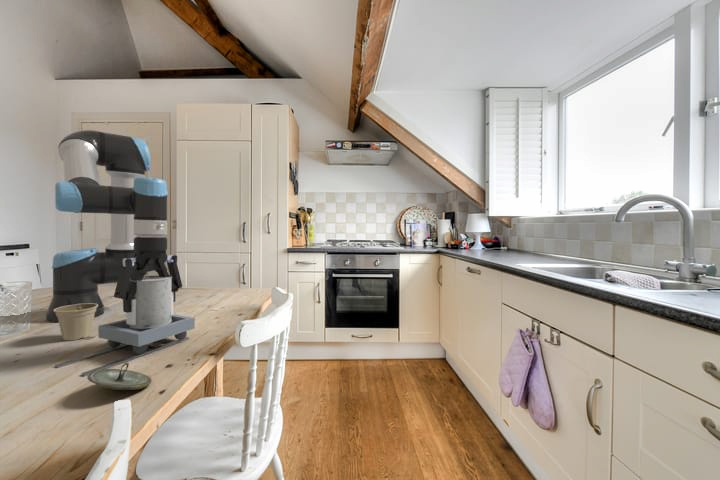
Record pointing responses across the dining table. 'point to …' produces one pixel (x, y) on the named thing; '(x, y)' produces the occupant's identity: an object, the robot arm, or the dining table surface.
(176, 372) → the dining table surface
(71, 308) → the flower pot
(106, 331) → the cart
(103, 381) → the lid
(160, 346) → the track
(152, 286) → the grey canister
